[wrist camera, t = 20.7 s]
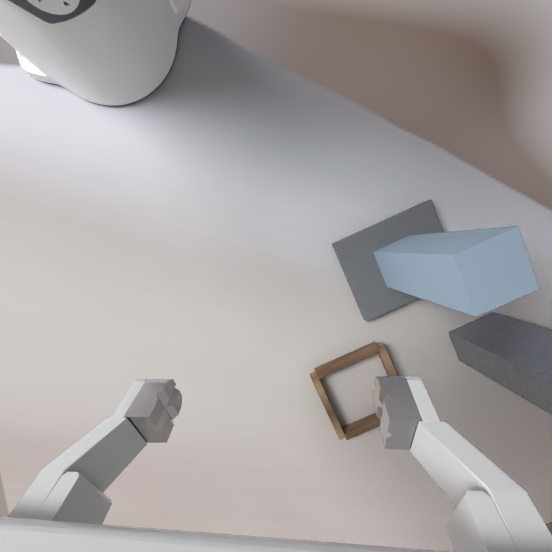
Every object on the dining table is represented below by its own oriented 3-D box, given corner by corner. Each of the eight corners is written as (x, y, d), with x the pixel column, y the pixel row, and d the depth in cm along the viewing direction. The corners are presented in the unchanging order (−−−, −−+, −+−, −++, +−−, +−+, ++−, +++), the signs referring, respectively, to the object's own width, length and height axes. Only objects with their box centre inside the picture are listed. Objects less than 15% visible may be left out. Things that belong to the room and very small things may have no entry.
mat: (332, 244, 30) (334, 243, 29) (425, 201, 30) (431, 199, 29) (363, 319, 31) (367, 321, 30) (454, 278, 31) (460, 279, 30)
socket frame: (308, 371, 32) (310, 375, 31) (379, 339, 32) (383, 343, 31) (338, 435, 33) (341, 442, 32) (407, 405, 33) (412, 411, 32)
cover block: (372, 251, 30) (453, 255, 17) (408, 235, 29) (518, 226, 17) (387, 287, 30) (476, 316, 17) (422, 271, 30) (539, 288, 17)
